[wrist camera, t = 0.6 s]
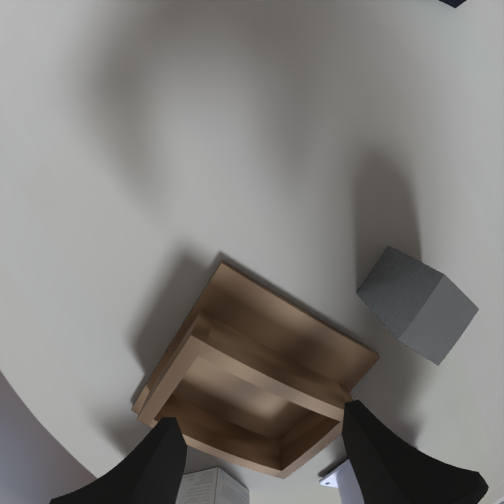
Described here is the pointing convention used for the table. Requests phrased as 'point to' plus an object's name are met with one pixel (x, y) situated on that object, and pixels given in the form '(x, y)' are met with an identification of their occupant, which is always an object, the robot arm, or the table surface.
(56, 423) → the table surface
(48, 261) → the table surface
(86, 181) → the table surface
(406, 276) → the steel block
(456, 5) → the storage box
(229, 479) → the light bulb box
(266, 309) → the walnut well
